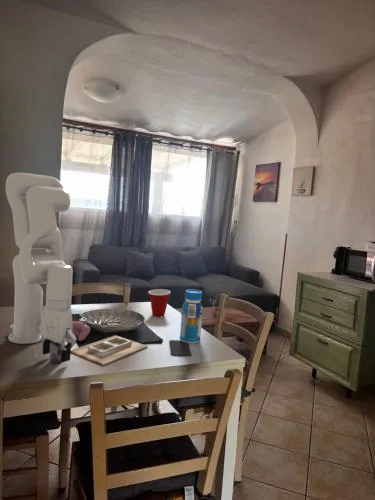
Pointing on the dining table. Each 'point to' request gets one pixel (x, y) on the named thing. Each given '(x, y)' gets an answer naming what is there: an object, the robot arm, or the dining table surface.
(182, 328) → the beverage bottle
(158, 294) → the plastic cup
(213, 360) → the dining table surface
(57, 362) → the cylinder
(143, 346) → the tray
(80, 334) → the video game controller
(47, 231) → the robot arm
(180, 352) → the phone
